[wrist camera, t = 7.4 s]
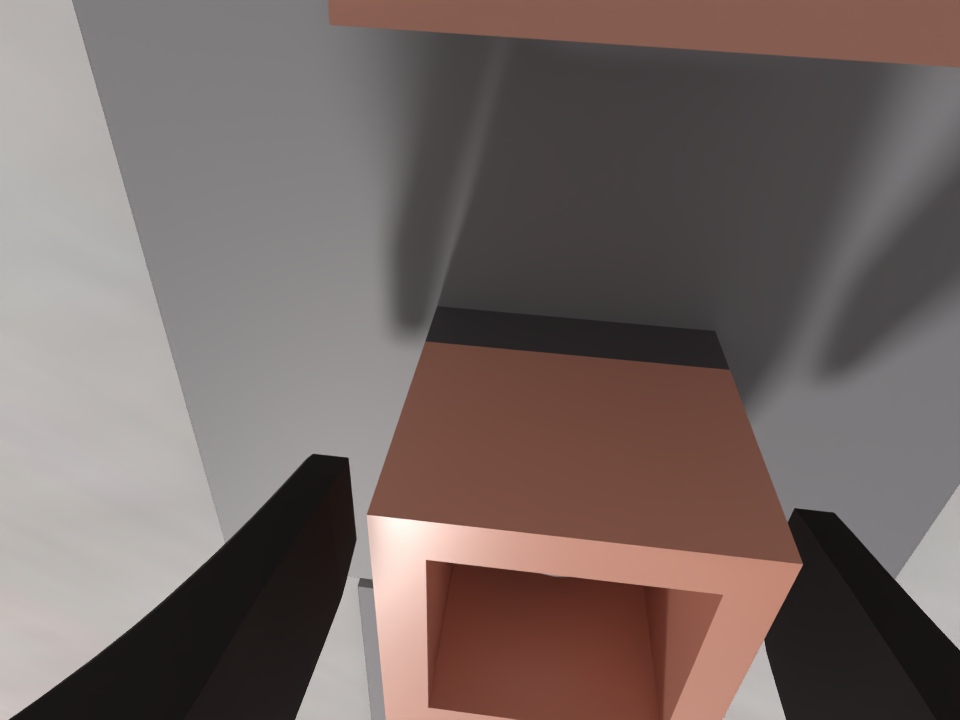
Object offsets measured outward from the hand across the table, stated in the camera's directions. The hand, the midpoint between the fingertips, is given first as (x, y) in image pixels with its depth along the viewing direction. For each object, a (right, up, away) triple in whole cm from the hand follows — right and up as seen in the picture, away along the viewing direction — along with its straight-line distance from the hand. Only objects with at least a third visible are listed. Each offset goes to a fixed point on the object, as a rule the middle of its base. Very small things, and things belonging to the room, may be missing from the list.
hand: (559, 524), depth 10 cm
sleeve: (0, +1, +2) cm, 3 cm away
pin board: (+1, +7, +1) cm, 7 cm away
